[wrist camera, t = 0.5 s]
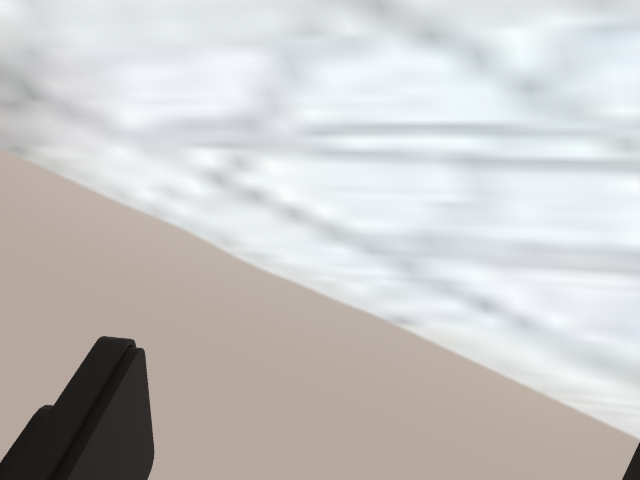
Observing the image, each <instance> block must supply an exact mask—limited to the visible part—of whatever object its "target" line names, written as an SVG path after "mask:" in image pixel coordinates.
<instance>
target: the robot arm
mask: <svg viewBox="0 0 640 480" xmlns="http://www.w3.org/2000/svg"><path fill="white" fill-rule="evenodd" d="M153 459H154V442H153V432H152V421H151V411H150V401H149V391H148V379H147V369H146V359H145V351H144V349H143V348H136V344H135V341H134V340H132V339H126V338H115V337H106V336H102V337H100V338H99V339H98V340H97V341H96V343H95V344H94V346H93V347H92V349H91V351H90V352H89V353H88V355H87V356H86V358H85V359H84V361H83V362H82V364H81V365H80V367H79V368H78V370H77V371H76V373H75V374H74V376H73V377H72V379H71V380H70V382H69V383H68V385H67V386H66V388H65V389H64V391H63V392H62V394H61V395H60V397H59V398H58V400H57V401H56V403H55V404H54V406H52V405H45V406H43V407H41V408H40V409H39V410H38V411H37V412H36V413H35V414H34V415H33V417H32V418H31V420H30V421H29V422H28V424H27V425H26V427H25V428H24V430H23V431H22V432H21V434H20V435H19V437H18V438H17V440H16V441H15V443H14V444H13V445H12V447H11V448H10V450H9V451H8V453H7V454H6V455H5V457H4V458H3V460H2V461H1V463H0V480H147V479H148V477H149V474H150V471H151V468H152V465H153ZM622 480H640V443H639V445H638V447H637V449H636V451H635V453H634V455H633V458H632V460H631V462H630V464H629V466H628V468H627V471H626V473H625V475H624V477H623V479H622Z"/></svg>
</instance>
